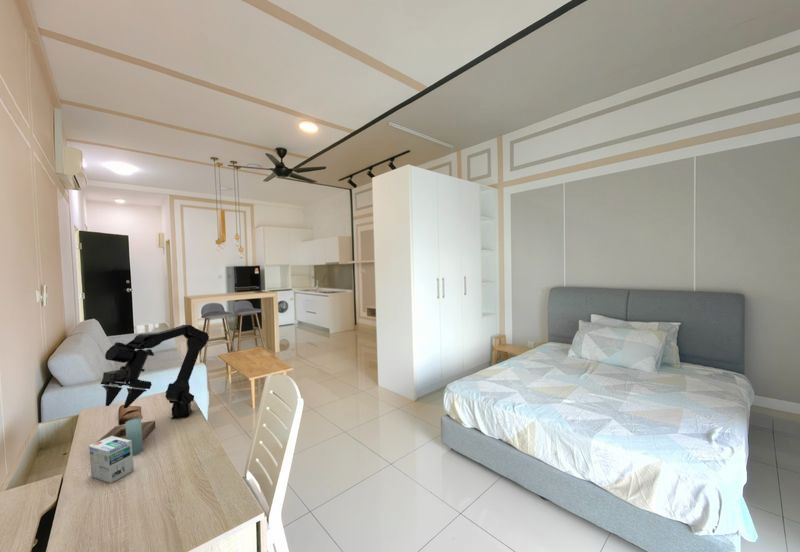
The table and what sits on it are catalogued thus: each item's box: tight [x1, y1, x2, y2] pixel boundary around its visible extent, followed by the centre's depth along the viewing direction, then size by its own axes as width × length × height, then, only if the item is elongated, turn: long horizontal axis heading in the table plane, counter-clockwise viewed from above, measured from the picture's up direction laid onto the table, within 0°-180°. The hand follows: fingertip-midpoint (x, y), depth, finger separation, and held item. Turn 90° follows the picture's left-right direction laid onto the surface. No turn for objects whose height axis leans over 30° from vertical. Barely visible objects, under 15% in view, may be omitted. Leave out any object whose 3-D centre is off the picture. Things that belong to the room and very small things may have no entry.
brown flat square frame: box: [96, 420, 156, 443], centre depth 124 cm, size 14×14×3 cm
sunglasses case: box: [117, 404, 143, 426], centre depth 144 cm, size 18×7×7 cm
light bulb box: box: [88, 436, 134, 484], centre depth 103 cm, size 11×7×11 cm, turn 71°
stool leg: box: [124, 418, 144, 457], centre depth 114 cm, size 4×4×12 cm
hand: (116, 407), depth 117 cm, fingers open, 9 cm apart
